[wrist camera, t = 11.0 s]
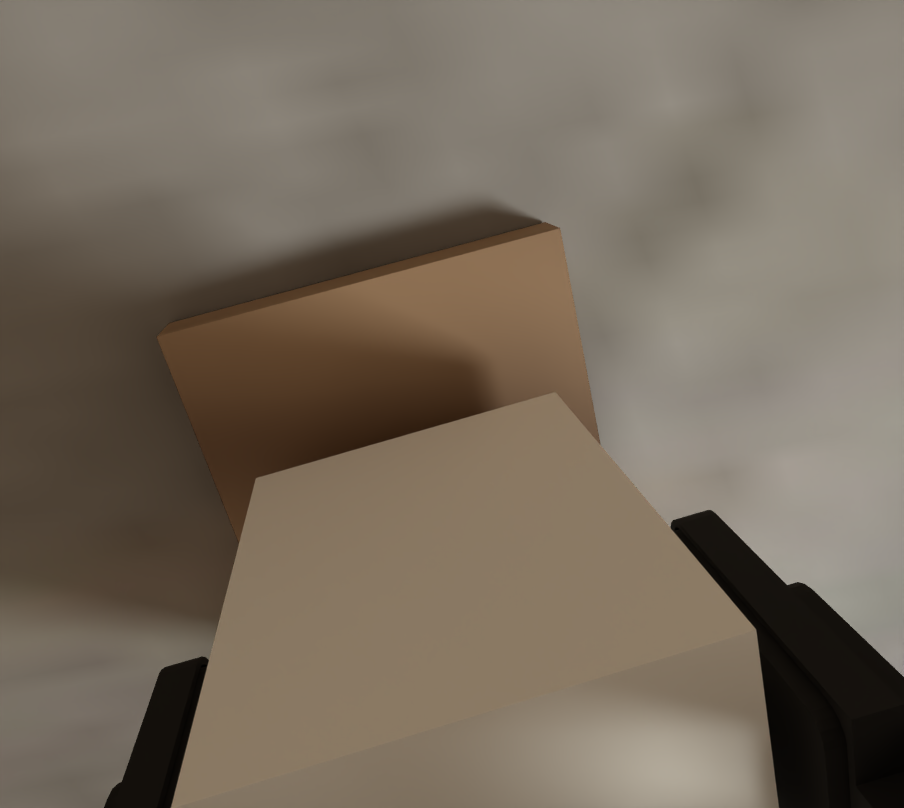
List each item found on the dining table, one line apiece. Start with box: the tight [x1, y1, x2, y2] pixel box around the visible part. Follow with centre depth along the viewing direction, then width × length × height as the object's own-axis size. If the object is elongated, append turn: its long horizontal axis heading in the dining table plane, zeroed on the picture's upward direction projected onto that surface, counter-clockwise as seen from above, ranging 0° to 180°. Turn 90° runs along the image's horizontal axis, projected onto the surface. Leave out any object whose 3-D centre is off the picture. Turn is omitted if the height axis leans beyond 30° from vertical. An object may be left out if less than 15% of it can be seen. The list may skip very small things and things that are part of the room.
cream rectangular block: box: [171, 392, 779, 808], centre depth 10 cm, size 5×5×7 cm
